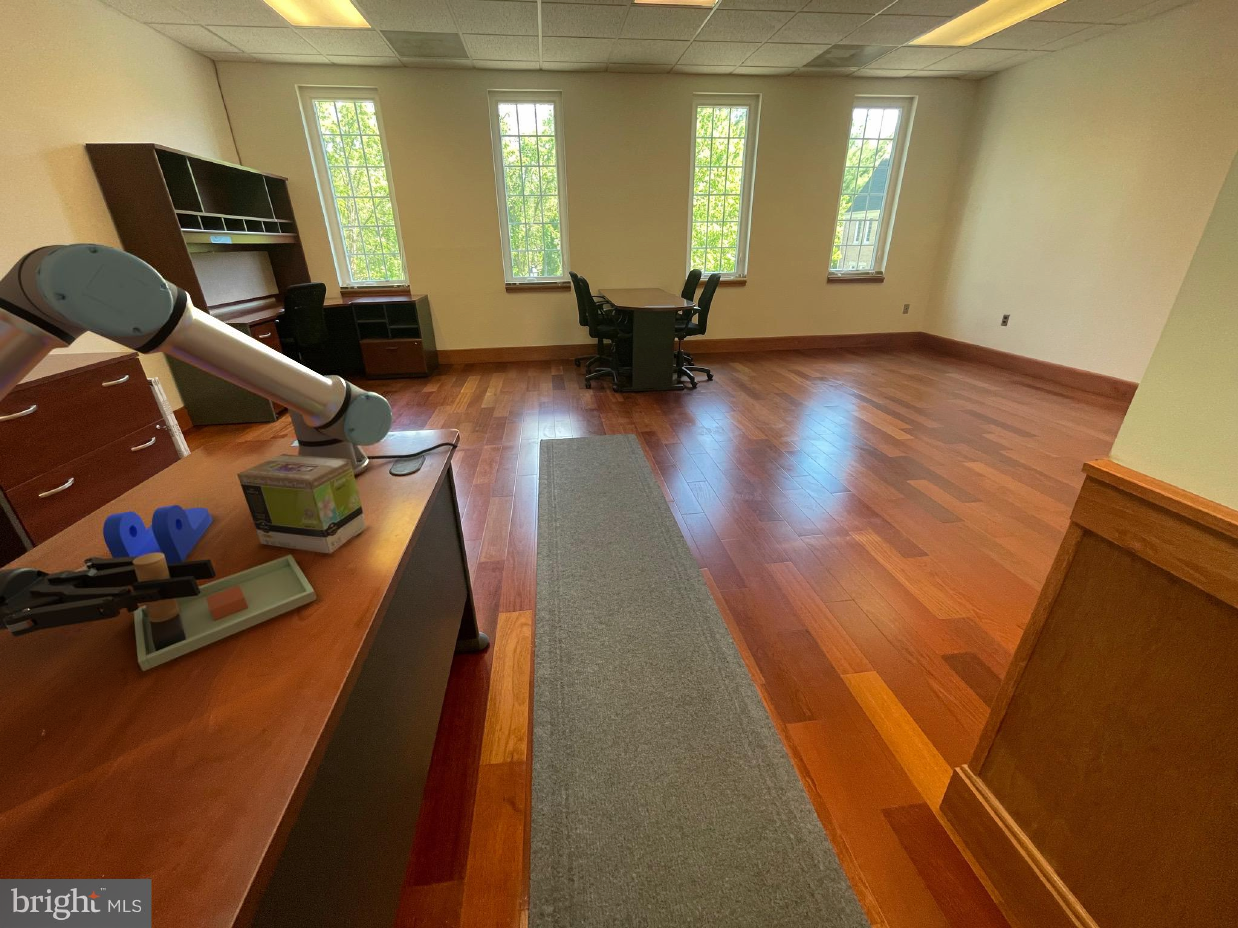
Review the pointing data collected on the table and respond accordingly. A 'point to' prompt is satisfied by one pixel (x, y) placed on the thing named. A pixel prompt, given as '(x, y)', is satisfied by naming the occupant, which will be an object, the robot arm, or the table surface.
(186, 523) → the bracket
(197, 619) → the tray
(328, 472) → the tea box
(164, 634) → the brush
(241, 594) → the orange flat block
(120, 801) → the table surface
